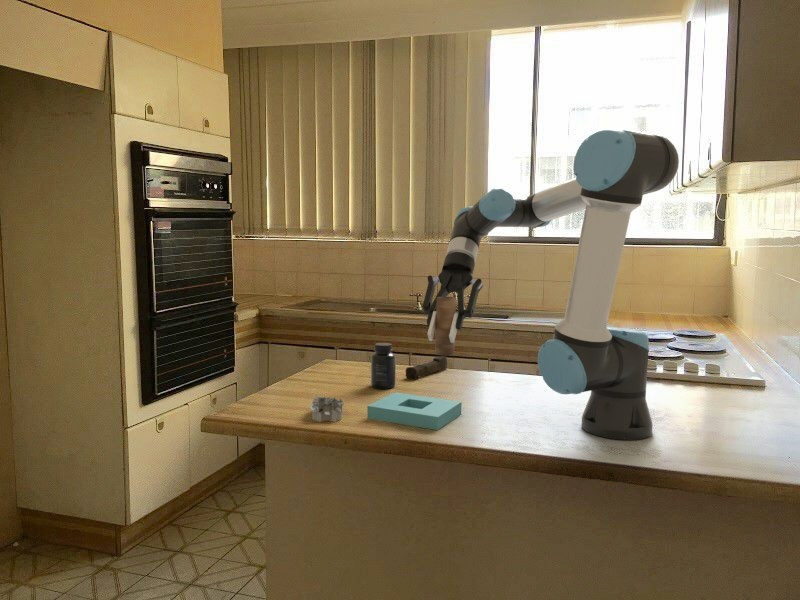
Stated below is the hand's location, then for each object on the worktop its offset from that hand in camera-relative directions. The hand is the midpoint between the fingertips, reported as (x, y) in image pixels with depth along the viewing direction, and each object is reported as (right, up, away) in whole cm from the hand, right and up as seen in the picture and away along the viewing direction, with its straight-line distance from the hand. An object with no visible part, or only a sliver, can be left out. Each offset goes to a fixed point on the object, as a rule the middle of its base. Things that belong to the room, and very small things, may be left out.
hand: (440, 338), depth 151 cm
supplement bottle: (-14, -16, +35) cm, 40 cm away
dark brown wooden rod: (-1, -14, +51) cm, 53 cm away
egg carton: (-27, -19, +7) cm, 33 cm away
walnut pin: (+1, -4, +4) cm, 6 cm away
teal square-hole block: (-6, -19, +7) cm, 21 cm away
